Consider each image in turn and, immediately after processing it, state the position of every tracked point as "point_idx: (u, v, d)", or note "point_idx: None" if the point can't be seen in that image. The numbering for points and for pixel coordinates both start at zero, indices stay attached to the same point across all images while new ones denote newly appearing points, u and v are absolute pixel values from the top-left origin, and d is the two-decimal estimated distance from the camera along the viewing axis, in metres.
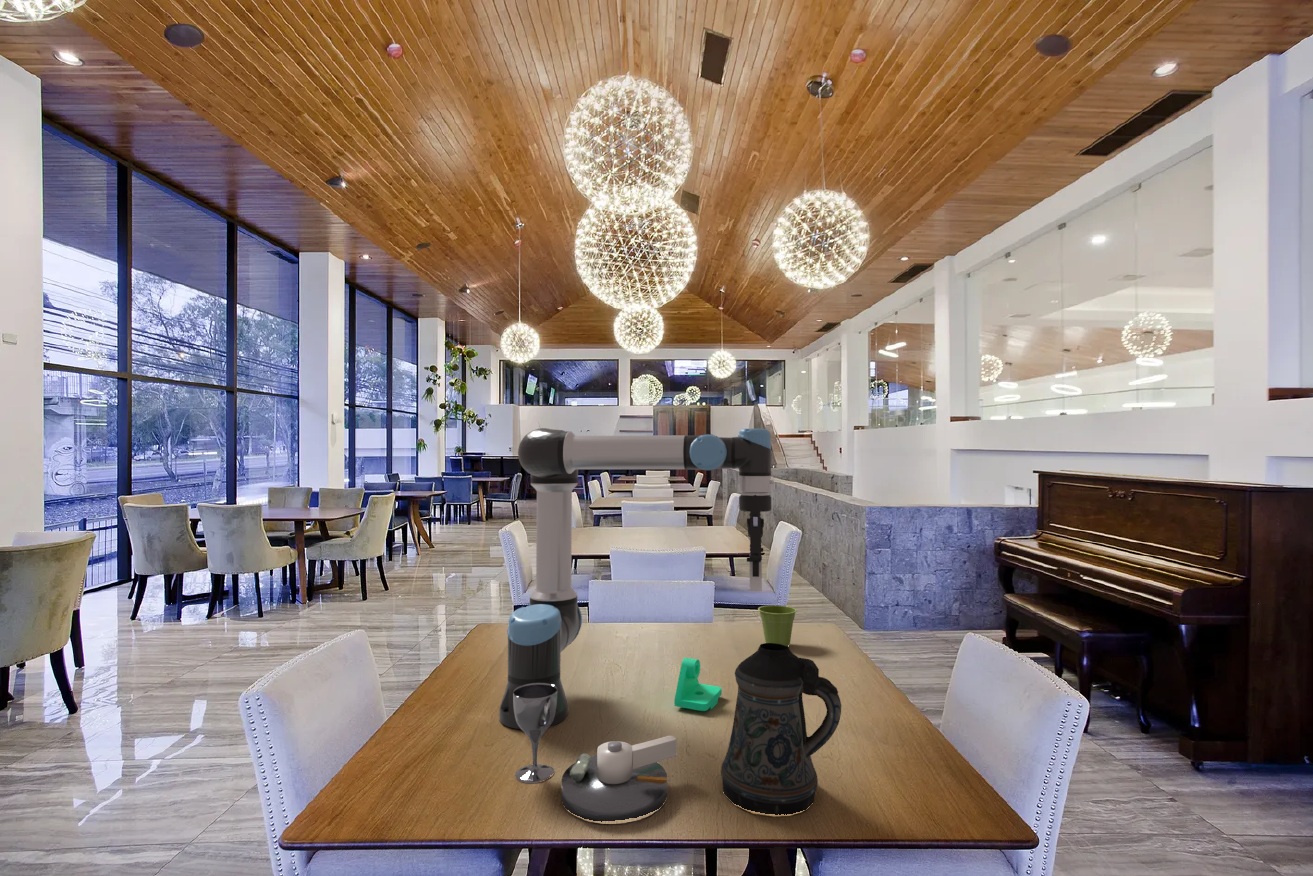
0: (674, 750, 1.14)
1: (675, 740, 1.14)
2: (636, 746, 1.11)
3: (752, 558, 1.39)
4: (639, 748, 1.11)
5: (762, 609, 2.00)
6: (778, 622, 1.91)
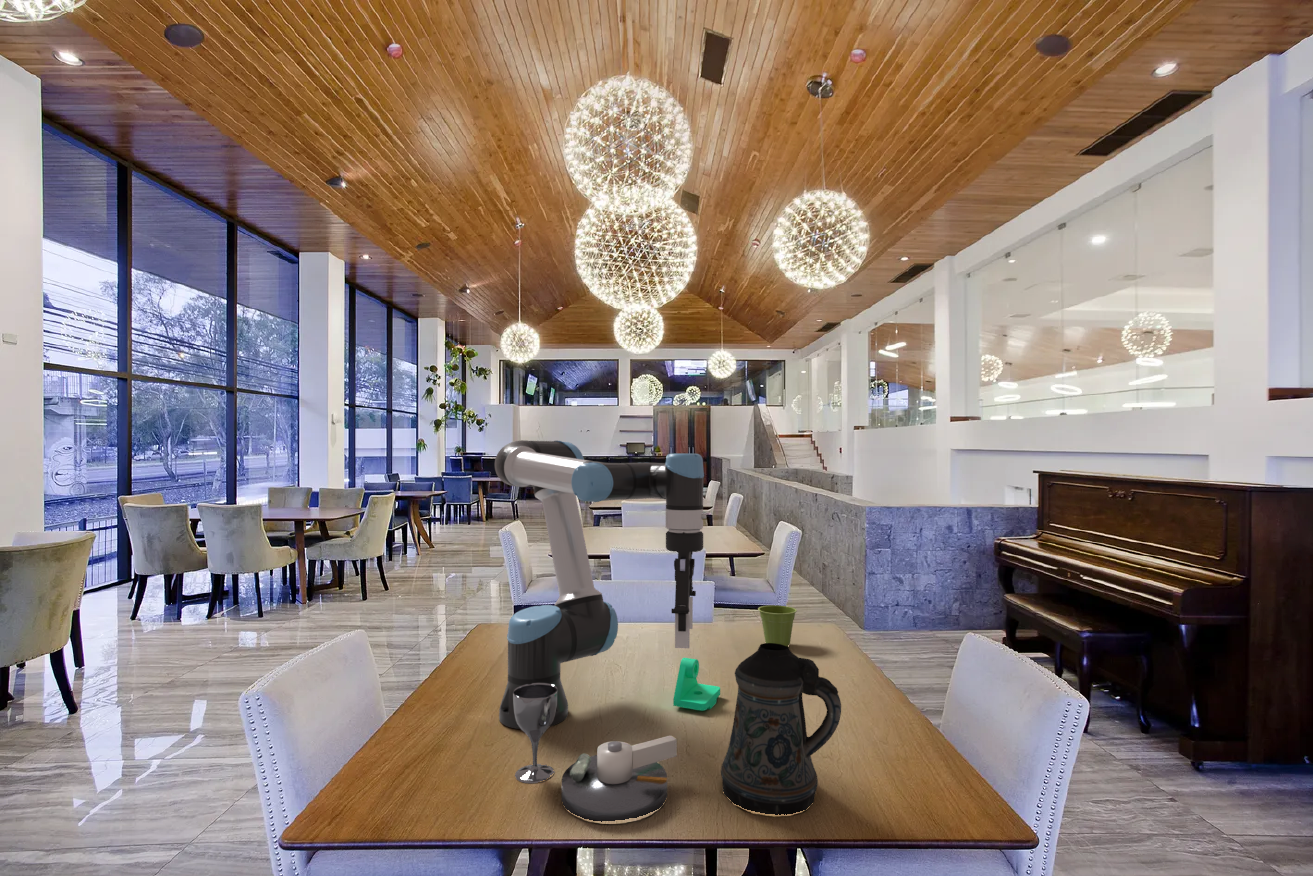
0: (674, 750, 1.14)
1: (675, 740, 1.14)
2: (636, 746, 1.11)
3: (677, 610, 1.17)
4: (639, 748, 1.11)
5: (762, 609, 2.00)
6: (778, 622, 1.91)
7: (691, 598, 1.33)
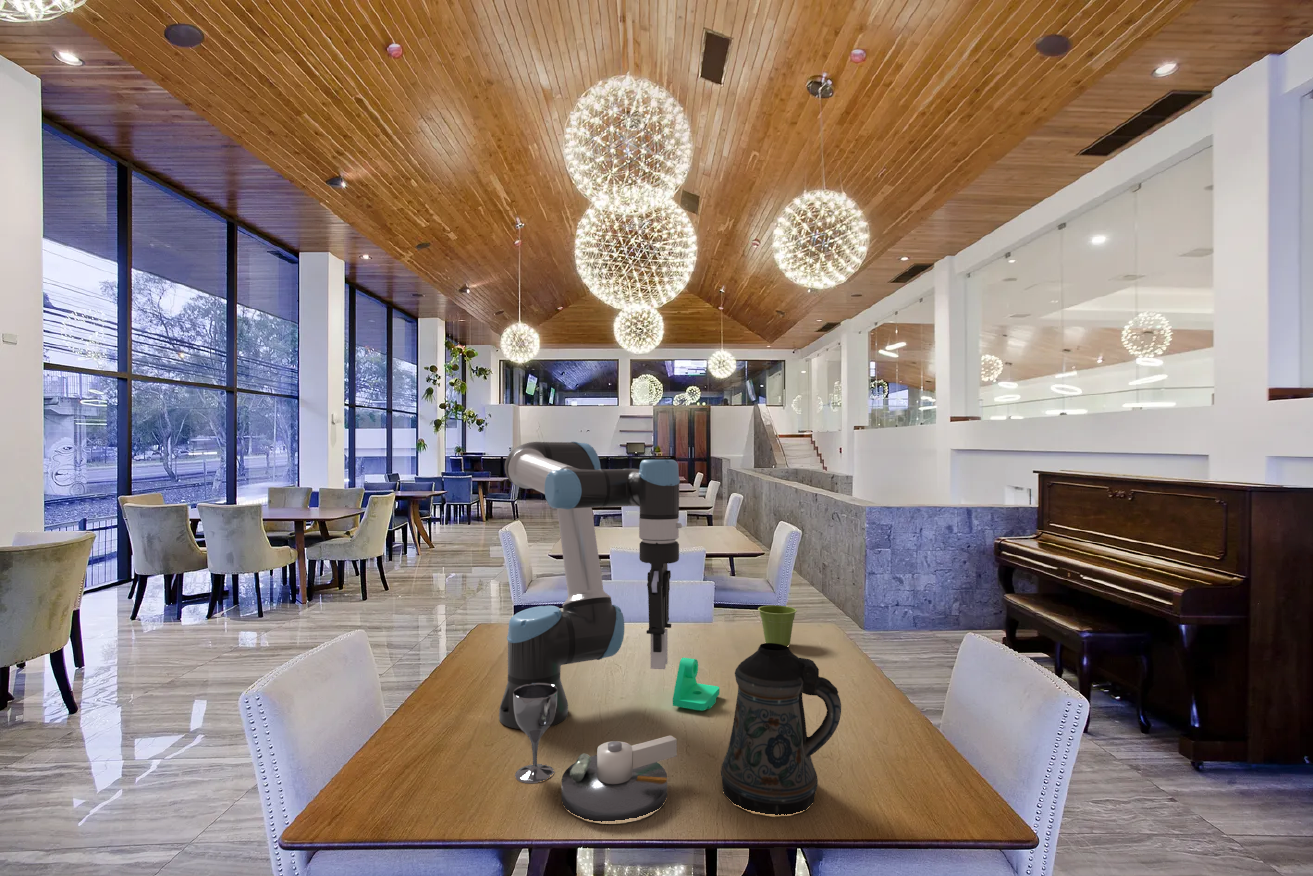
0: (674, 750, 1.14)
1: (675, 740, 1.14)
2: (636, 746, 1.11)
3: (651, 631, 1.16)
4: (639, 748, 1.11)
5: (762, 609, 2.00)
6: (778, 622, 1.91)
7: (665, 630, 1.21)
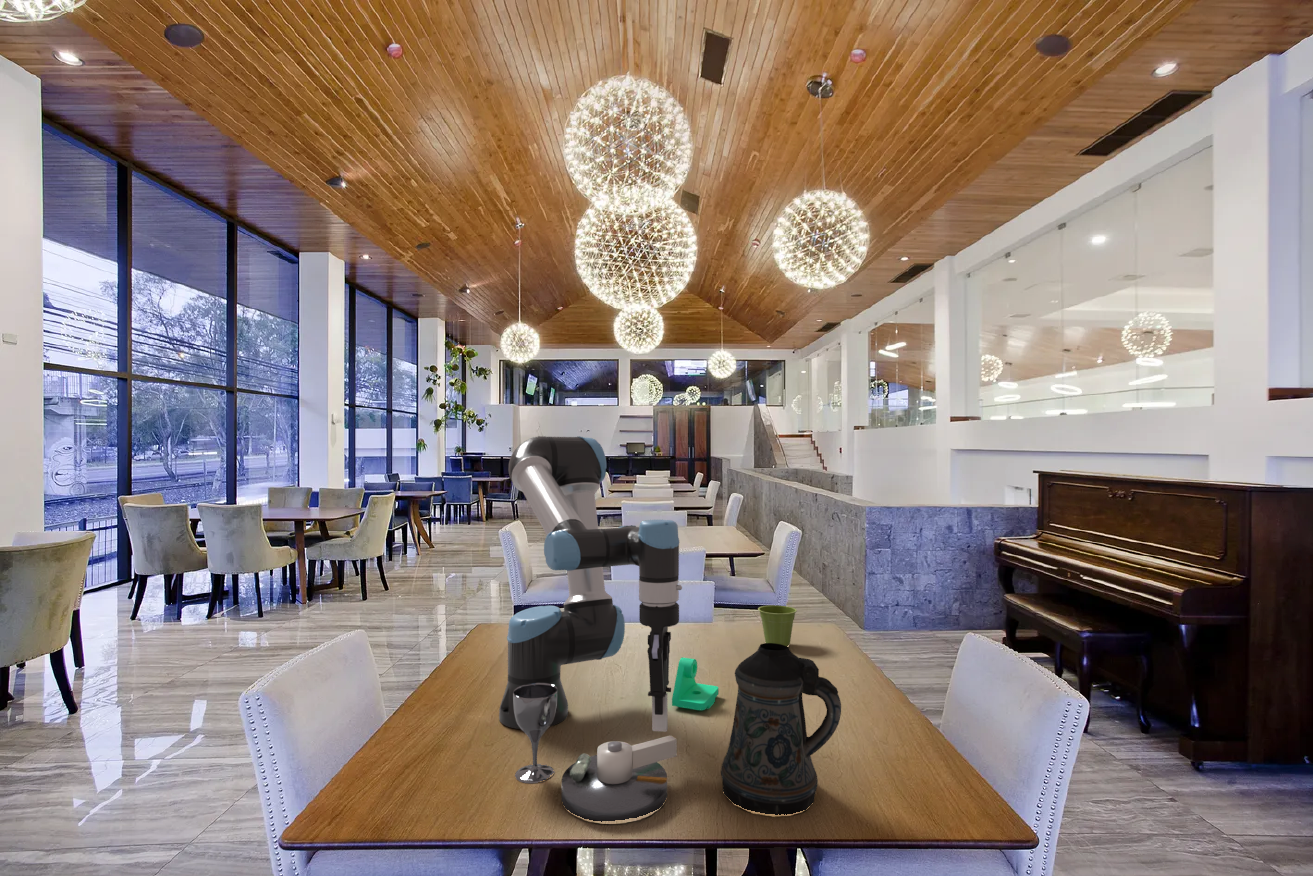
0: (674, 750, 1.14)
1: (675, 740, 1.14)
2: (636, 746, 1.11)
3: (653, 694, 1.16)
4: (639, 748, 1.11)
5: (762, 609, 2.00)
6: (778, 622, 1.91)
7: None
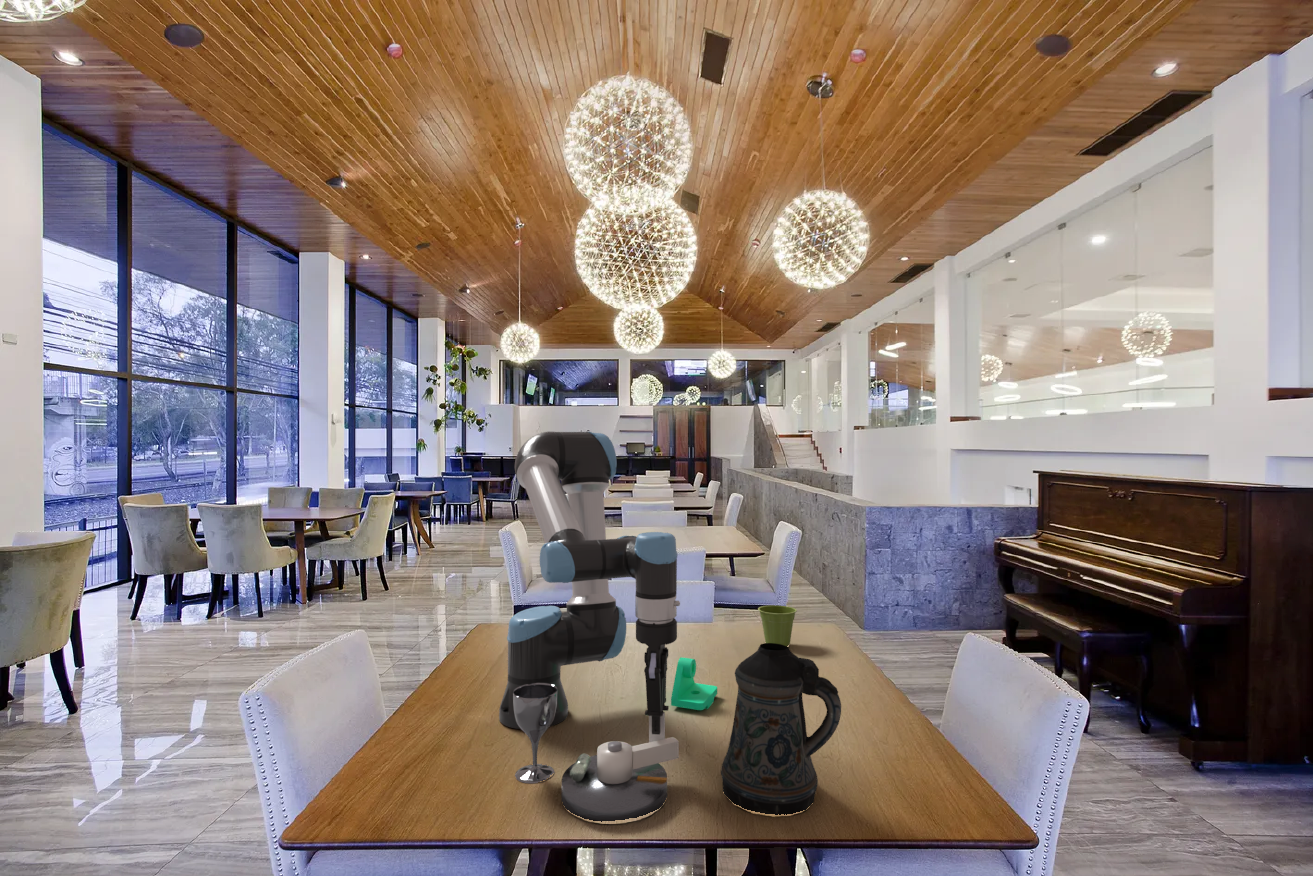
0: (676, 752, 1.13)
1: (677, 742, 1.14)
2: (637, 747, 1.11)
3: (650, 714, 1.12)
4: (639, 749, 1.10)
5: (762, 609, 2.00)
6: (778, 622, 1.91)
7: (663, 714, 1.15)
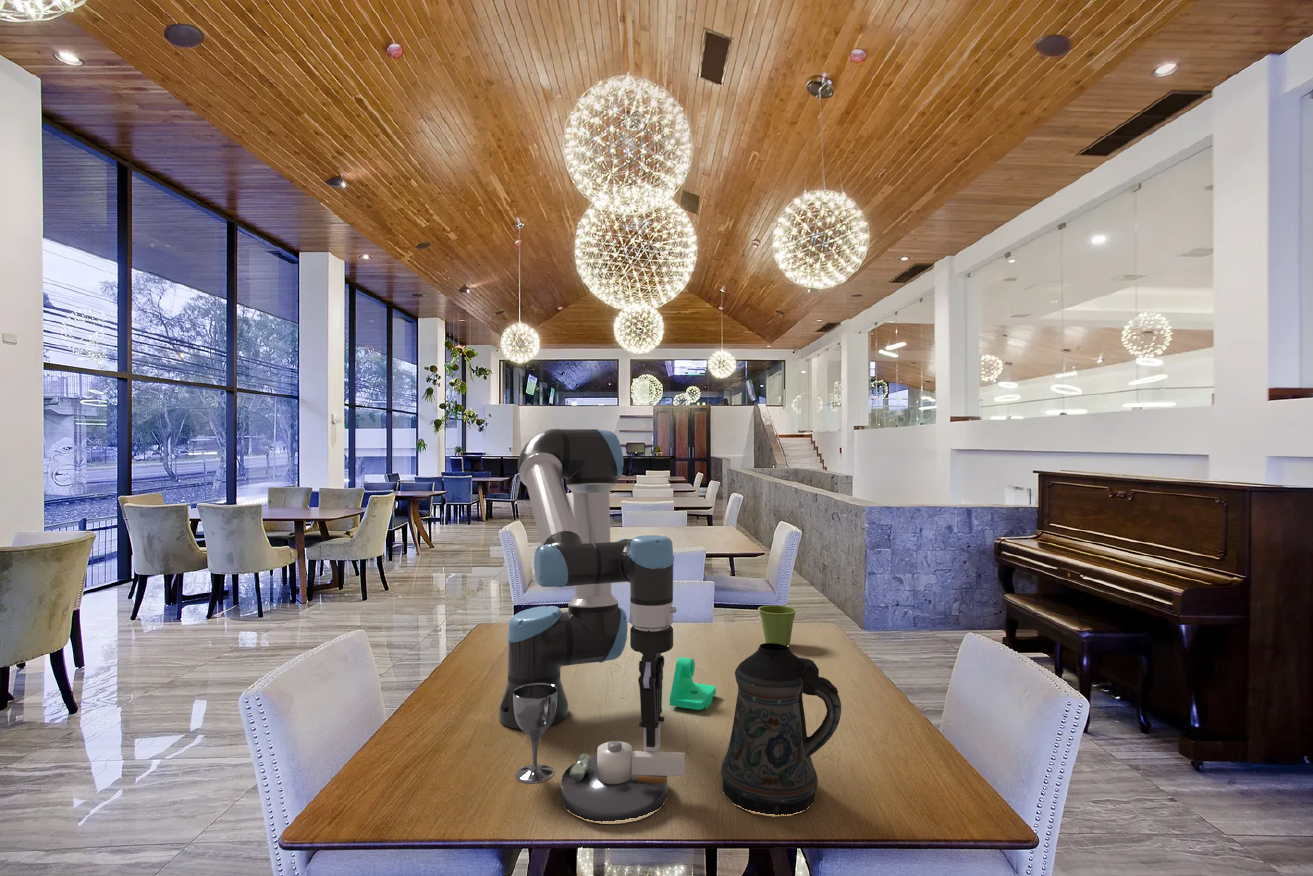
0: (681, 769, 1.07)
1: (683, 759, 1.07)
2: (640, 753, 1.09)
3: (644, 726, 1.07)
4: (639, 756, 1.08)
5: (762, 609, 2.00)
6: (778, 622, 1.91)
7: (658, 726, 1.10)
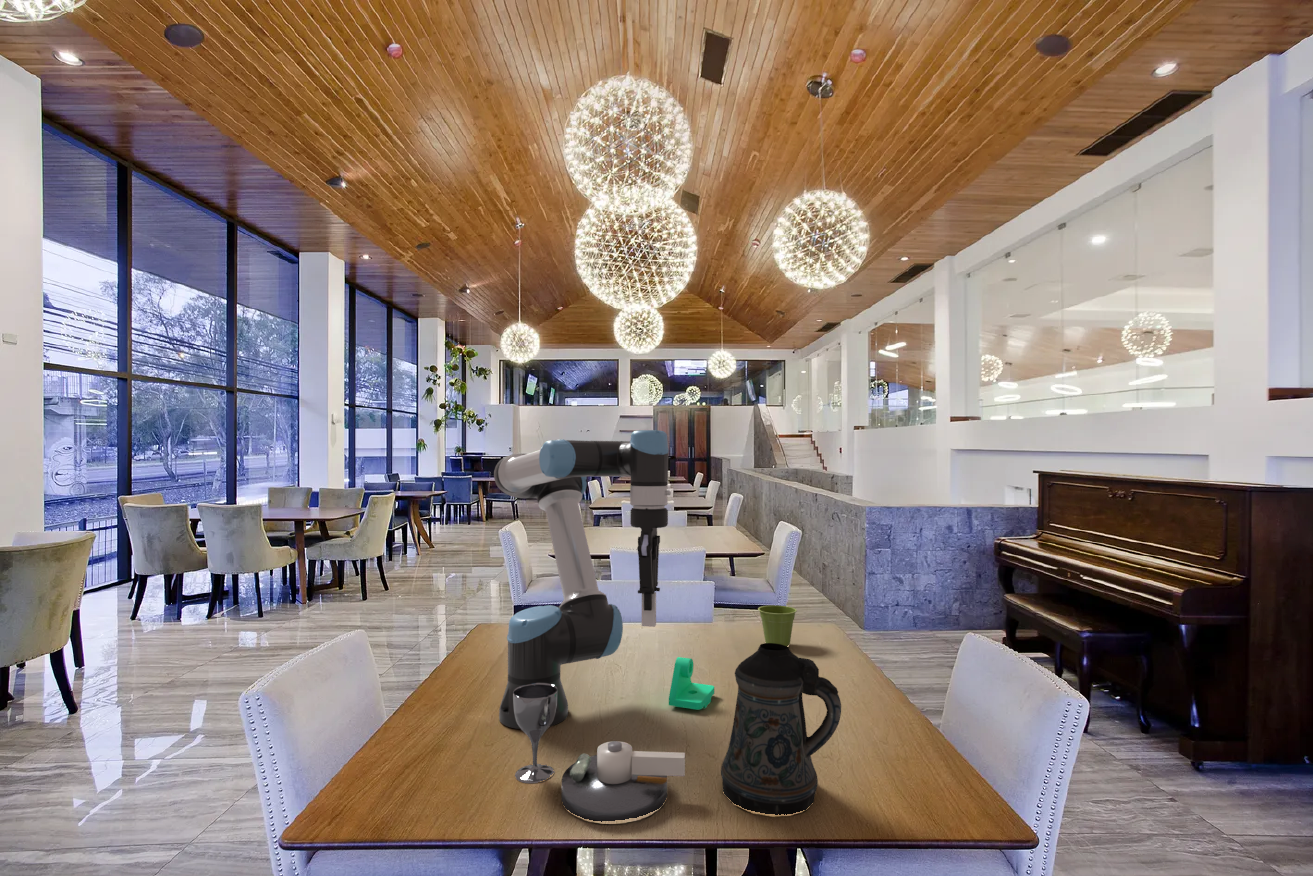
0: (681, 769, 1.07)
1: (683, 759, 1.07)
2: (640, 753, 1.09)
3: (642, 590, 1.24)
4: (639, 756, 1.08)
5: (762, 609, 2.00)
6: (778, 622, 1.91)
7: None
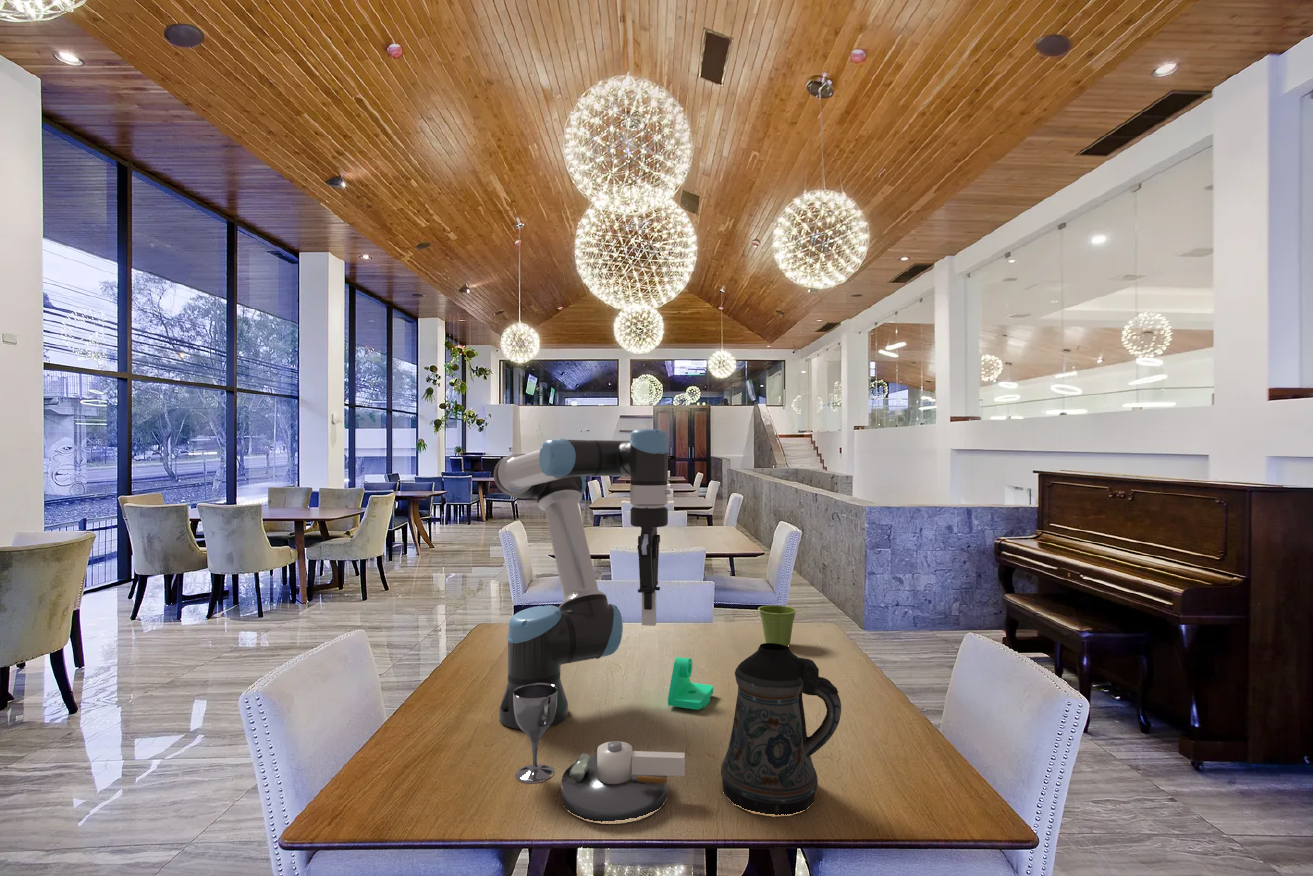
0: (681, 769, 1.07)
1: (683, 759, 1.07)
2: (640, 753, 1.09)
3: (642, 589, 1.24)
4: (639, 756, 1.08)
5: (762, 609, 2.00)
6: (778, 622, 1.91)
7: None
